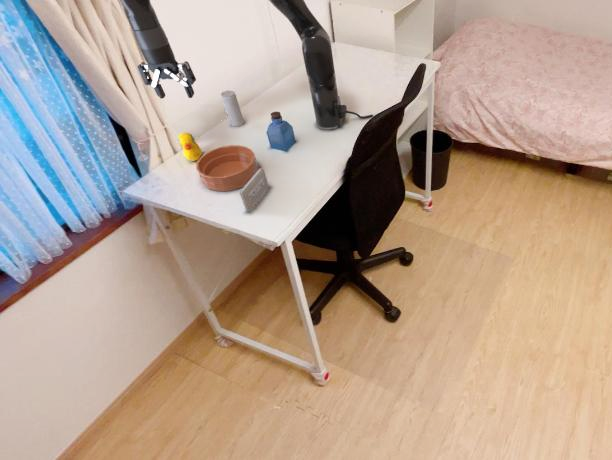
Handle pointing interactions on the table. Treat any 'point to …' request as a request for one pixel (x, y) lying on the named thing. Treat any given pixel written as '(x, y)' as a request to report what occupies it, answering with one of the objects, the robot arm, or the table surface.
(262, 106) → the table surface
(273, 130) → the perfume bottle
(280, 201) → the table surface
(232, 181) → the bowl
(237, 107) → the beverage can
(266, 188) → the cassette
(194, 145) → the duckling
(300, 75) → the table surface
